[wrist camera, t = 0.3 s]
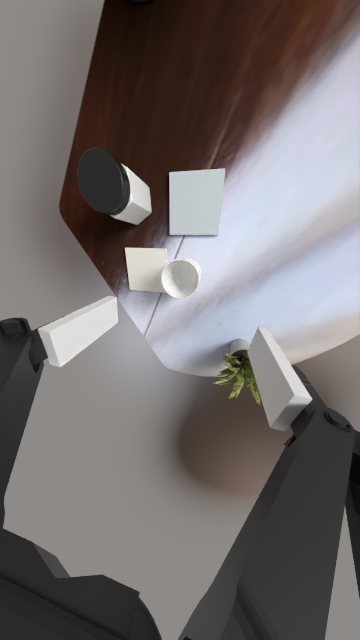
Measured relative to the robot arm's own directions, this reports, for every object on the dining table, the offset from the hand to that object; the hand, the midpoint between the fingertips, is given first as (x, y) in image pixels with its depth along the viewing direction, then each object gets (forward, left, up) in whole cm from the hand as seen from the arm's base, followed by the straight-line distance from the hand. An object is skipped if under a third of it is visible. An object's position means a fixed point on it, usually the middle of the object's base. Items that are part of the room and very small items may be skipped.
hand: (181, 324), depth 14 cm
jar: (-16, -17, -28) cm, 36 cm away
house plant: (+18, +12, -28) cm, 35 cm away
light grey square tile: (-15, -3, -28) cm, 31 cm away
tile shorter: (-1, -15, -28) cm, 31 cm away
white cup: (-1, -4, -28) cm, 28 cm away
